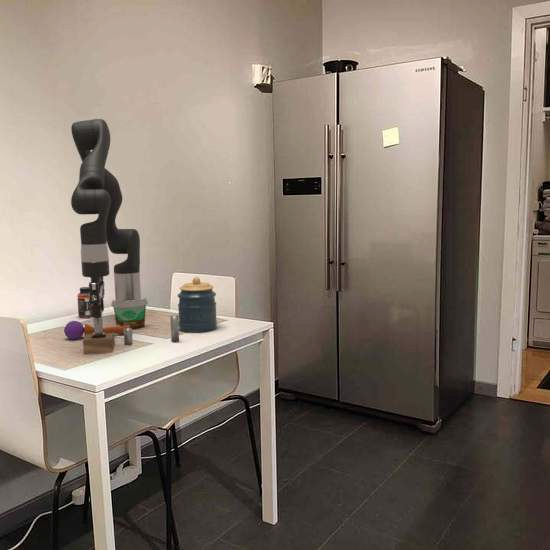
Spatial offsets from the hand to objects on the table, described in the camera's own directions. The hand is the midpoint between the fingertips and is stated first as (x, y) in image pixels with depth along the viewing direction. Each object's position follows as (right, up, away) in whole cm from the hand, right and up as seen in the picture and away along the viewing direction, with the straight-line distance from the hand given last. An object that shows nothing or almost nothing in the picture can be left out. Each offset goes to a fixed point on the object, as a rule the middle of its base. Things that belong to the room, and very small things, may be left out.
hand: (98, 314), depth 161 cm
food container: (+3, -7, +28) cm, 29 cm away
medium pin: (+21, -9, +9) cm, 24 cm away
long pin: (0, -10, +1) cm, 11 cm away
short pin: (+7, -10, +7) cm, 14 cm away
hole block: (0, -10, +1) cm, 10 cm away
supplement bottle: (-20, -5, +49) cm, 53 cm away
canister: (+25, -7, +27) cm, 37 cm away
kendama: (-6, -9, +17) cm, 20 cm away
